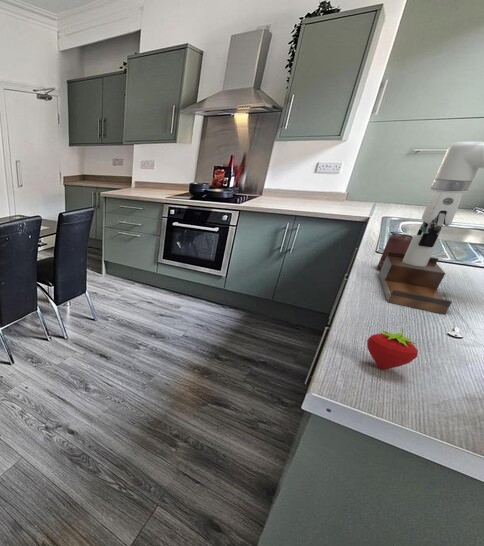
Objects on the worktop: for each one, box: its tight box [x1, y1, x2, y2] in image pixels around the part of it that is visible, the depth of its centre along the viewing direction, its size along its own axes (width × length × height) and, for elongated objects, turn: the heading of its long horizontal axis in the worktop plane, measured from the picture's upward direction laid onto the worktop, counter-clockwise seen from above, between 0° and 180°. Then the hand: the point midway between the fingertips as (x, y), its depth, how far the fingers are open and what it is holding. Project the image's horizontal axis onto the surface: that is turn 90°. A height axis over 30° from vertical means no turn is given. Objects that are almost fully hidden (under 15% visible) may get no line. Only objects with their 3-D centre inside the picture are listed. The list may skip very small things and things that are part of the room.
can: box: [376, 232, 413, 272], centre depth 115 cm, size 6×6×14 cm
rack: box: [378, 251, 453, 315], centre depth 98 cm, size 12×26×10 cm, turn 142°
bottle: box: [402, 227, 440, 267], centre depth 100 cm, size 6×6×12 cm
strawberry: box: [366, 327, 419, 371], centre depth 64 cm, size 6×8×10 cm
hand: (423, 243), depth 100 cm, fingers closed on bottle, 5 cm apart
